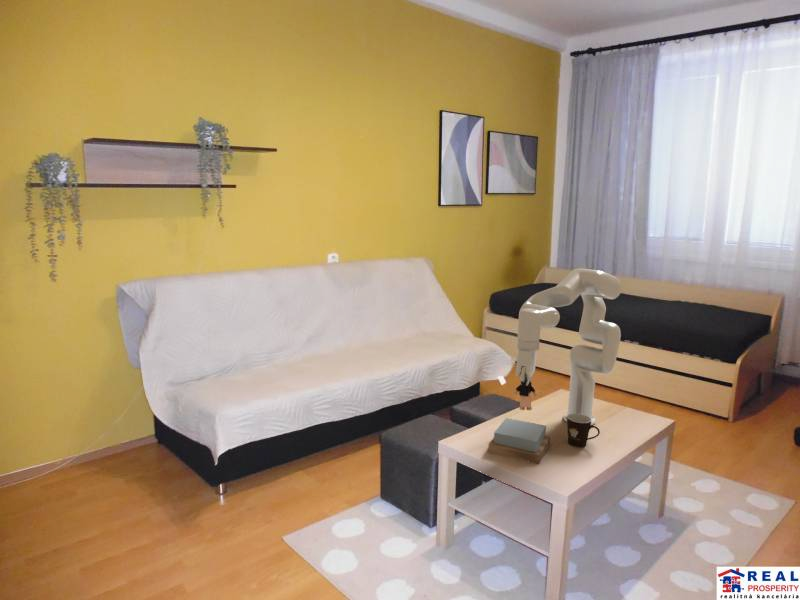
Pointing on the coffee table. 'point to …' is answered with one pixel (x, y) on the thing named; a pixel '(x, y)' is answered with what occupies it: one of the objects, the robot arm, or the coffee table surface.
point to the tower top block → (520, 434)
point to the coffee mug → (579, 429)
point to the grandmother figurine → (526, 400)
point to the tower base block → (520, 451)
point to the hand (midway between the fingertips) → (525, 393)
